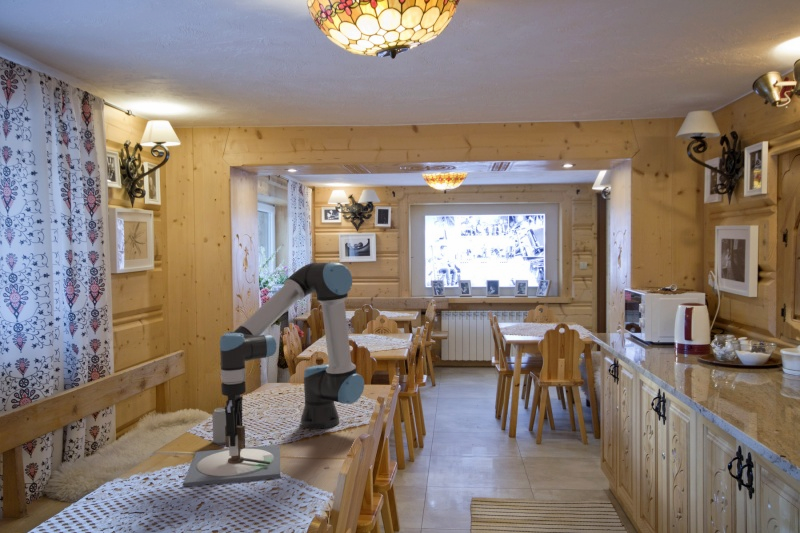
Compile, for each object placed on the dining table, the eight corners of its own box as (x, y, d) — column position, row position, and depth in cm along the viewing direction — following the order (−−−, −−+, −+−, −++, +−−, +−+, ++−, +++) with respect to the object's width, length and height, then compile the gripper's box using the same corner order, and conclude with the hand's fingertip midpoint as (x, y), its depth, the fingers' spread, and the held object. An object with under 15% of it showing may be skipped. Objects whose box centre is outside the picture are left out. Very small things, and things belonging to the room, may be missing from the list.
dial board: (279, 447, 211) (279, 443, 211) (280, 477, 184) (280, 472, 184) (196, 455, 206) (196, 450, 206) (184, 486, 178) (184, 481, 178)
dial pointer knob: (232, 457, 198) (231, 422, 198) (274, 463, 192) (272, 427, 192) (222, 462, 194) (221, 427, 193) (264, 468, 187) (263, 432, 187)
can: (228, 445, 215) (227, 412, 215) (209, 444, 217) (208, 411, 216) (238, 438, 223) (237, 406, 222) (219, 437, 224) (218, 406, 224)
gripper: (228, 376, 202) (230, 445, 203) (214, 387, 186) (216, 462, 187) (250, 375, 202) (252, 444, 203) (238, 387, 186) (240, 462, 187)
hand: (235, 453), depth 195 cm, fingers closed on dial pointer knob, 3 cm apart
